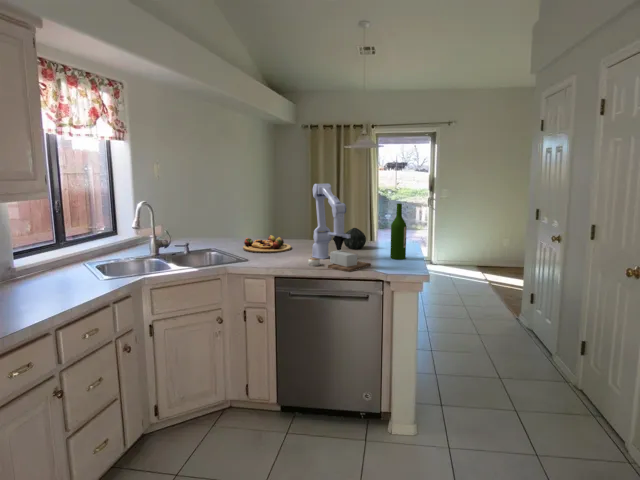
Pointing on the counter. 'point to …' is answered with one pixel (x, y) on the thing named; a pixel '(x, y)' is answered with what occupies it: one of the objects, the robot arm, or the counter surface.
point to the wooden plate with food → (266, 245)
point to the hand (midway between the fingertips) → (338, 249)
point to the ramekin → (313, 261)
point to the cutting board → (351, 268)
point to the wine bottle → (398, 236)
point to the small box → (343, 258)
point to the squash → (355, 239)
